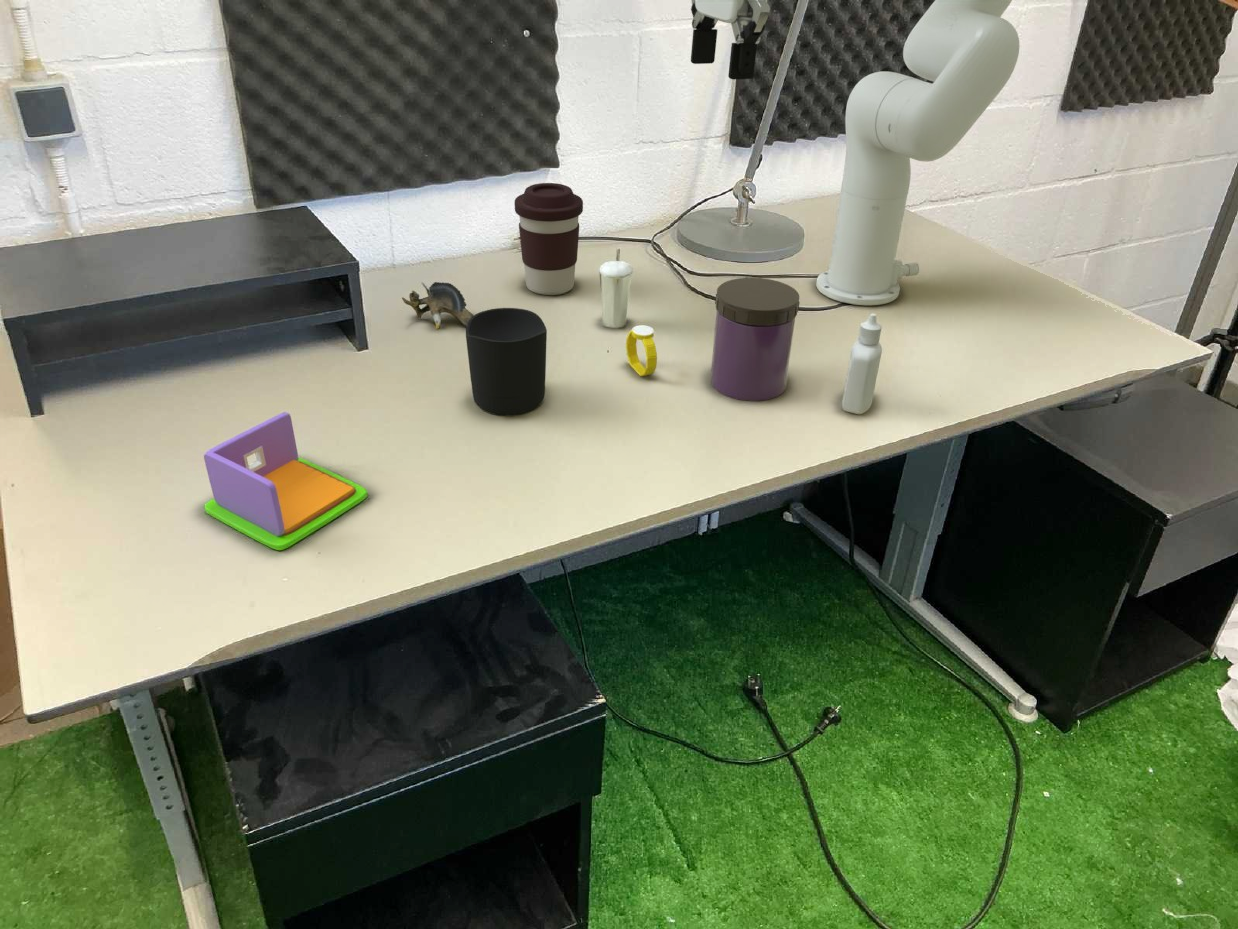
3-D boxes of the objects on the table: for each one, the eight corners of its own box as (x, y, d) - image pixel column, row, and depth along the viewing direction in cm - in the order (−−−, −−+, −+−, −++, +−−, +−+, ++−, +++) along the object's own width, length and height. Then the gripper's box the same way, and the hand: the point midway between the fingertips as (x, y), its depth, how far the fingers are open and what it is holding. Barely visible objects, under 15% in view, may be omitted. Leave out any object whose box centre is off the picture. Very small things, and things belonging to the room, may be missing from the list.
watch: (620, 363, 126) (621, 321, 123) (639, 359, 127) (640, 318, 124) (641, 383, 122) (643, 340, 118) (660, 379, 123) (663, 337, 119)
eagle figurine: (402, 327, 131) (465, 321, 129) (399, 275, 131) (462, 268, 129) (424, 335, 138) (484, 329, 136) (421, 286, 138) (481, 279, 137)
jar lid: (772, 288, 122) (774, 273, 121) (812, 320, 115) (815, 304, 113) (701, 297, 119) (703, 282, 118) (738, 330, 112) (739, 314, 110)
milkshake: (632, 315, 139) (634, 249, 133) (629, 331, 134) (631, 263, 129) (601, 313, 139) (602, 247, 134) (596, 329, 135) (597, 261, 129)
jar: (763, 361, 128) (773, 278, 121) (799, 394, 120) (812, 308, 114) (698, 371, 125) (704, 287, 118) (730, 406, 117) (739, 318, 111)
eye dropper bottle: (827, 403, 119) (842, 313, 112) (859, 391, 121) (875, 302, 115) (853, 418, 116) (870, 326, 109) (885, 405, 118) (904, 315, 112)
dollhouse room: (199, 510, 97) (184, 453, 93) (294, 458, 105) (284, 404, 101) (279, 554, 91) (267, 495, 87) (373, 495, 100) (365, 439, 96)
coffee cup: (570, 271, 152) (570, 176, 144) (591, 295, 144) (592, 196, 136) (509, 278, 149) (506, 182, 141) (528, 303, 141) (525, 203, 133)
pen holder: (562, 394, 119) (562, 319, 113) (518, 426, 112) (515, 349, 106) (501, 374, 123) (497, 301, 117) (454, 404, 116) (448, 329, 110)
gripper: (805, -81, 105) (783, 84, 115) (728, -92, 119) (713, 57, 128) (746, -83, 103) (728, 86, 112) (674, -94, 116) (663, 58, 125)
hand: (720, 70), depth 120 cm, fingers open, 9 cm apart
